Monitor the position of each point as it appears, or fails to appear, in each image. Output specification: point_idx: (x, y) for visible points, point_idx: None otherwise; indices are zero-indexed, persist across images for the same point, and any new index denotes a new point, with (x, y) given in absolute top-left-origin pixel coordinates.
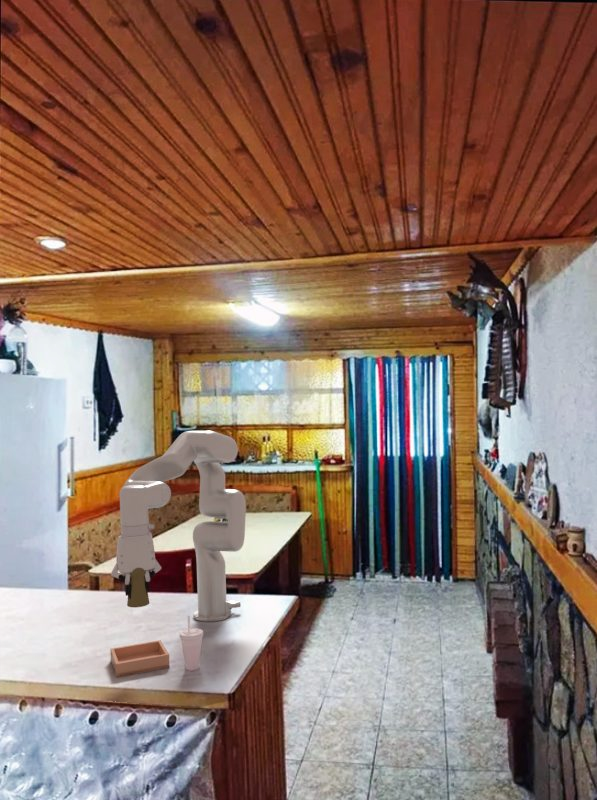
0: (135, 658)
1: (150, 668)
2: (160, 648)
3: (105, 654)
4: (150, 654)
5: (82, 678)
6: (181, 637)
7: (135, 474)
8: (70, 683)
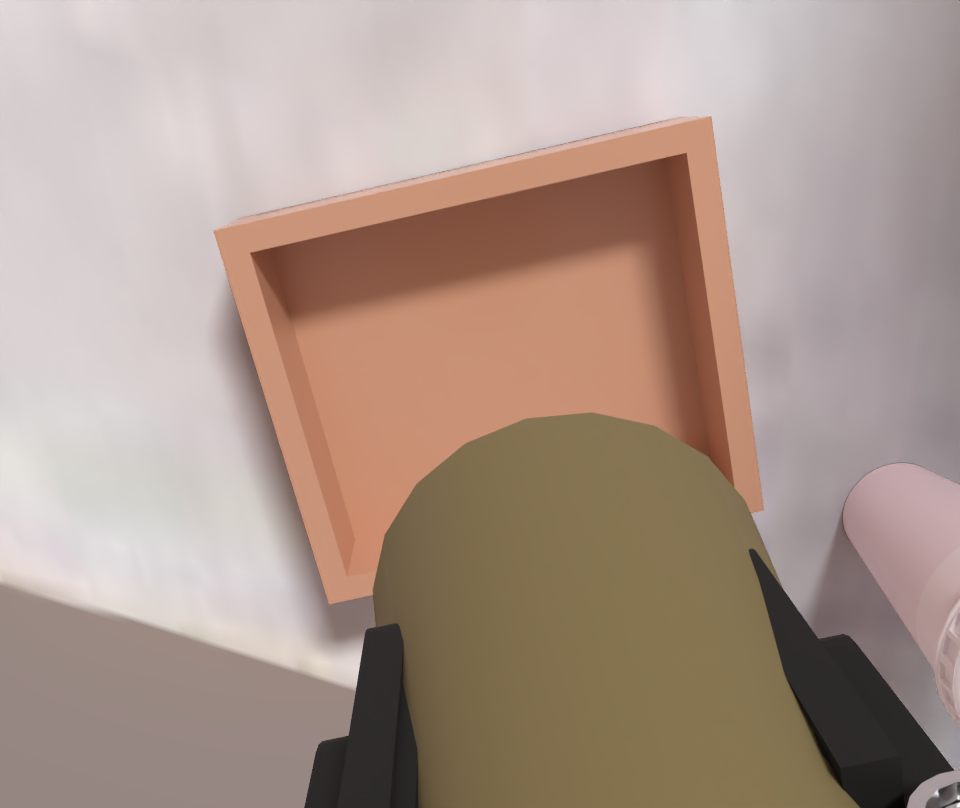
0: (460, 284)
1: None
2: (693, 257)
3: (155, 23)
4: (589, 222)
5: (81, 511)
6: (950, 703)
7: None
8: (14, 576)
